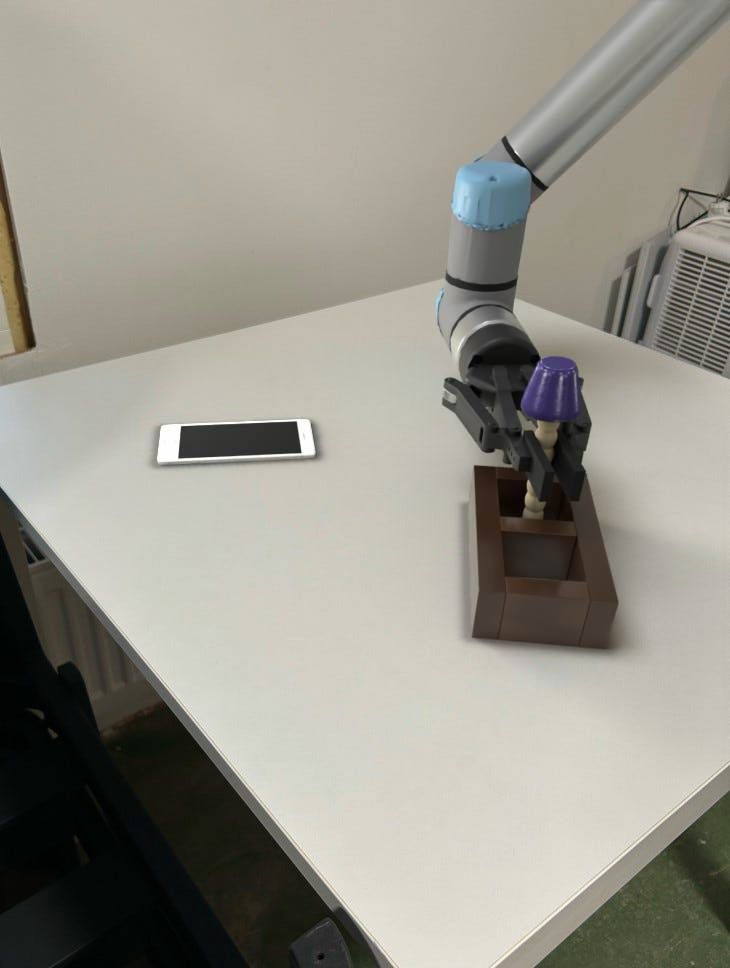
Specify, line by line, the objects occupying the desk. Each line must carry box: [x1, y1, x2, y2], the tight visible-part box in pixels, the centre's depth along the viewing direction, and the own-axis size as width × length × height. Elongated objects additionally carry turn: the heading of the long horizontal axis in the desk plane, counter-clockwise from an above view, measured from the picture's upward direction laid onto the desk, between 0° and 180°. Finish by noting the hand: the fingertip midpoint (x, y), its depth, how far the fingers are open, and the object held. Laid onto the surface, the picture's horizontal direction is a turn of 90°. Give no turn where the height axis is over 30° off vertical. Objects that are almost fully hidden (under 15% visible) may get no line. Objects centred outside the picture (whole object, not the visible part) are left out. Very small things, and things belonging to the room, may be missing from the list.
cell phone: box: [156, 418, 317, 466], centre depth 87 cm, size 8×16×1 cm, turn 96°
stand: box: [467, 464, 620, 650], centre depth 68 cm, size 10×18×5 cm, turn 173°
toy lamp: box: [521, 355, 581, 520], centre depth 68 cm, size 5×5×17 cm
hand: (562, 486), depth 63 cm, fingers closed on toy lamp, 2 cm apart
